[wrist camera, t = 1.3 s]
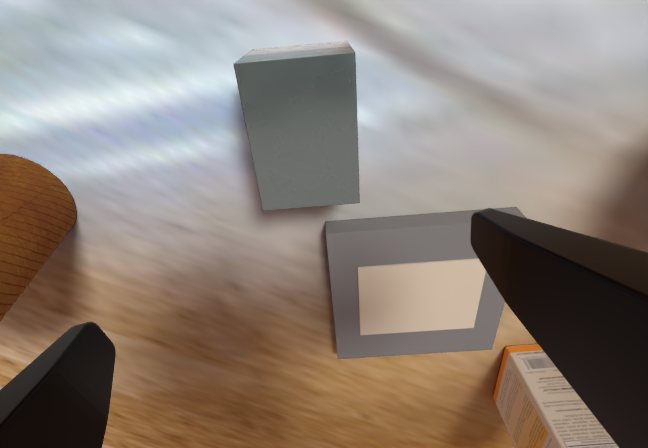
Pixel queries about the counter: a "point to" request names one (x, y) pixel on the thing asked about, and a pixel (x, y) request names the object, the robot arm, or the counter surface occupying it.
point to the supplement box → (543, 404)
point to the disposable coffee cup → (29, 223)
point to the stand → (410, 286)
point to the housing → (302, 123)
